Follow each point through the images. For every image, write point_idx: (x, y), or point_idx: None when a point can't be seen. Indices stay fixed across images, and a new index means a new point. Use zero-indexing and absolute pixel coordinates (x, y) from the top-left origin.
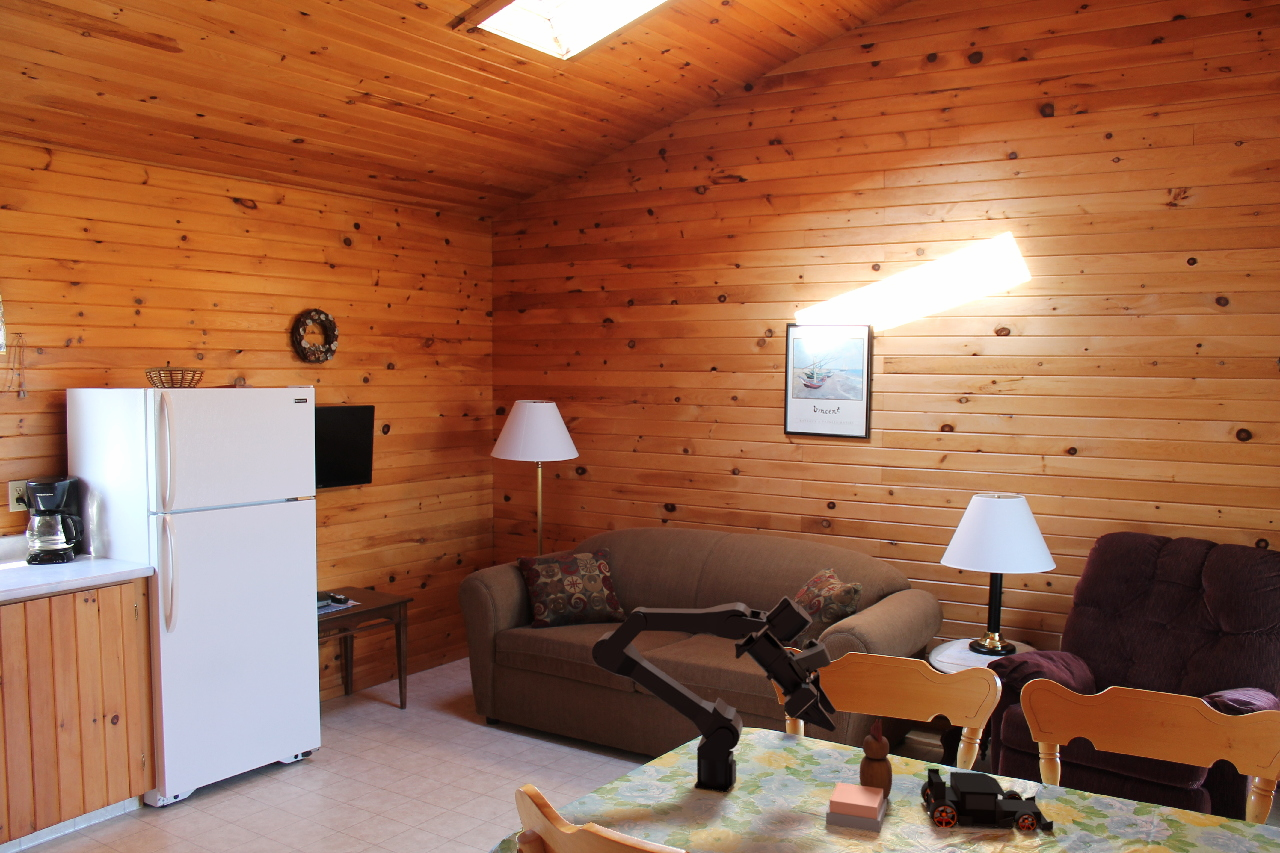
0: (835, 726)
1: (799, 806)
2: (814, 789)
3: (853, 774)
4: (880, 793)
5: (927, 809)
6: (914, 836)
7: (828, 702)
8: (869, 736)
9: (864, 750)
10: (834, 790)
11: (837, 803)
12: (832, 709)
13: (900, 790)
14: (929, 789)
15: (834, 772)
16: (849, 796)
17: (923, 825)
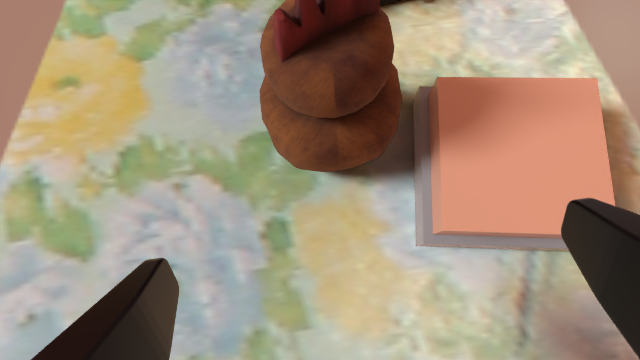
0: (587, 200)
1: (488, 355)
2: (336, 326)
3: (180, 219)
4: (479, 80)
5: (382, 3)
6: (540, 23)
7: (121, 337)
8: (327, 55)
9: (361, 105)
10: (524, 231)
11: None
12: (160, 287)
13: None
14: None
15: (178, 281)
16: (552, 172)
17: (466, 10)
